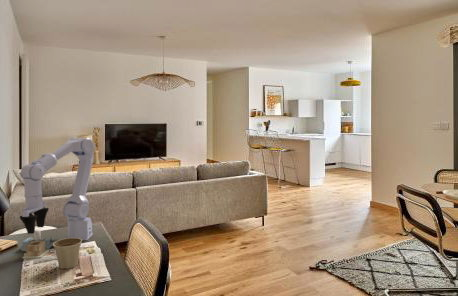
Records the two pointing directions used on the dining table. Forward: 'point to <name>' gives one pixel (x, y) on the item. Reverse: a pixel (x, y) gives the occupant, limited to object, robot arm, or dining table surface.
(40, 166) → the robot arm
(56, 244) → the flower pot
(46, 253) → the mat
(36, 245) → the collar
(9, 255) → the dining table surface
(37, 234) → the vise
